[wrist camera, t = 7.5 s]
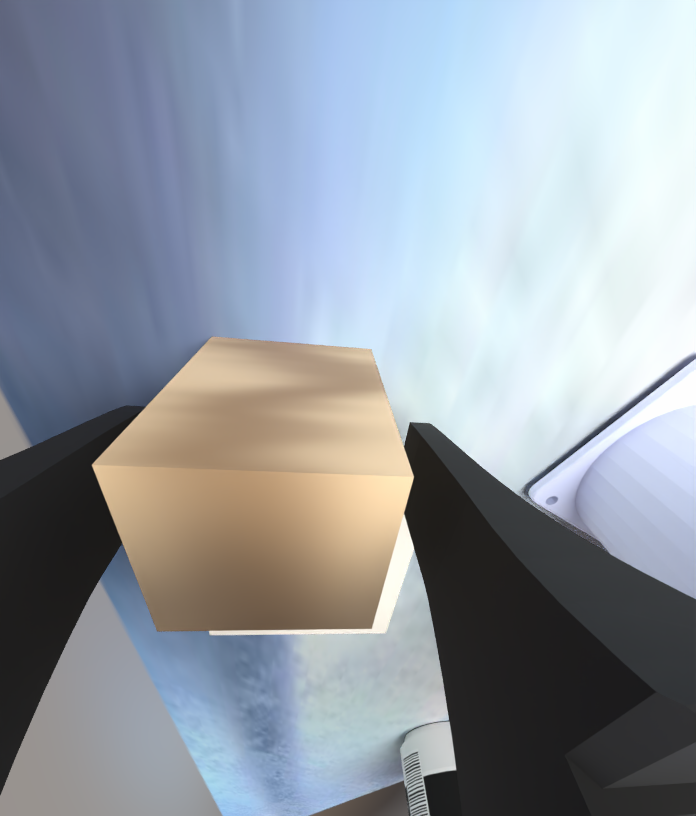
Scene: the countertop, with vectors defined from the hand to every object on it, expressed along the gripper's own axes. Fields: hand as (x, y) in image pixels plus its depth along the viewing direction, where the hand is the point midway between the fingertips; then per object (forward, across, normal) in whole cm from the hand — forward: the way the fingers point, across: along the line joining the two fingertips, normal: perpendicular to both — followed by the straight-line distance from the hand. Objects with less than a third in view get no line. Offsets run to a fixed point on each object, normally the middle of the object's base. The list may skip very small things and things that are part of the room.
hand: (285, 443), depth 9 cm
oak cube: (+2, 0, 0) cm, 2 cm away
